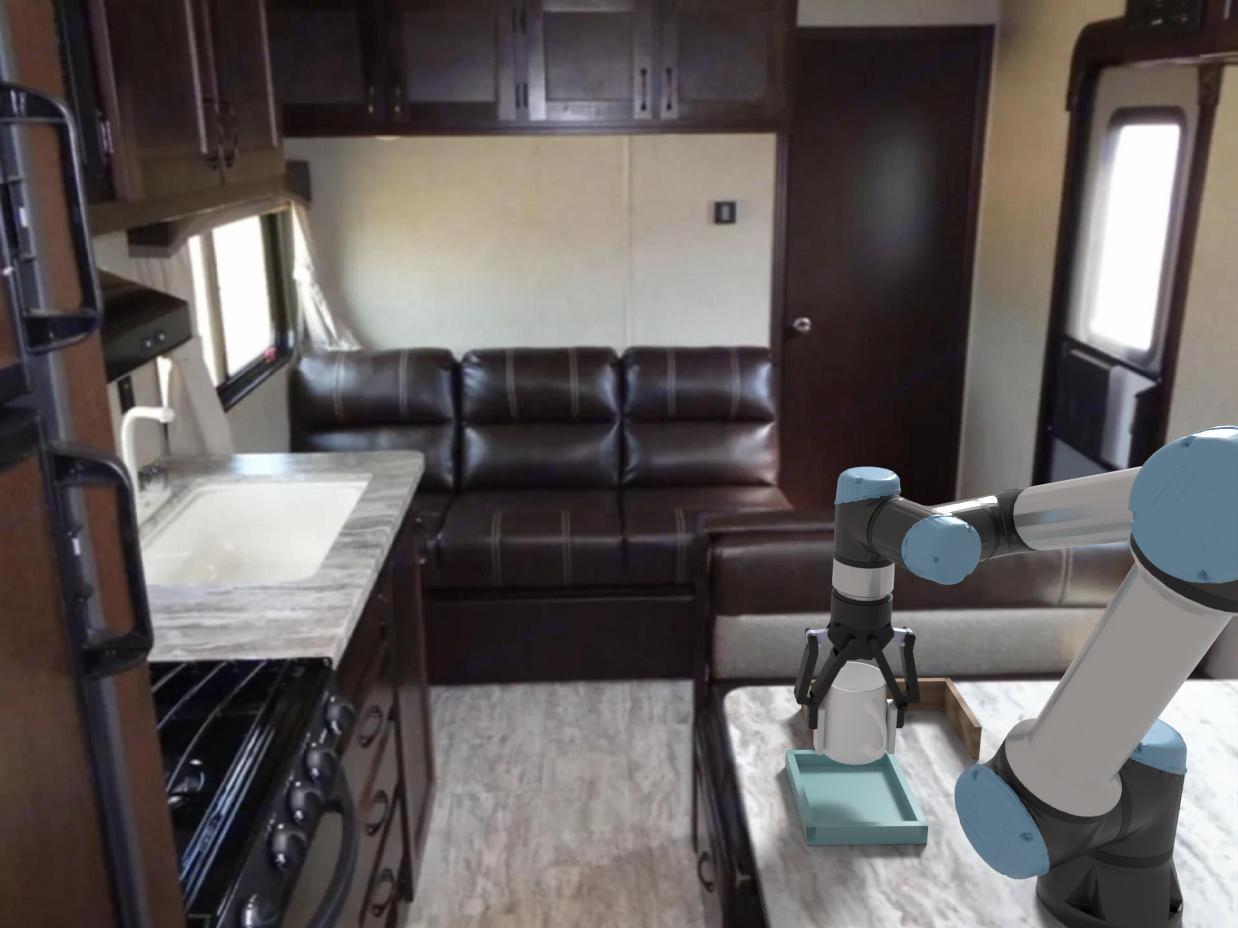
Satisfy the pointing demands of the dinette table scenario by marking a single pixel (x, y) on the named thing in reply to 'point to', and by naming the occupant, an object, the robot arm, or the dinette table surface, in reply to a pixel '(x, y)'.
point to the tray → (854, 801)
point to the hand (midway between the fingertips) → (853, 748)
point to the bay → (939, 698)
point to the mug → (856, 715)
